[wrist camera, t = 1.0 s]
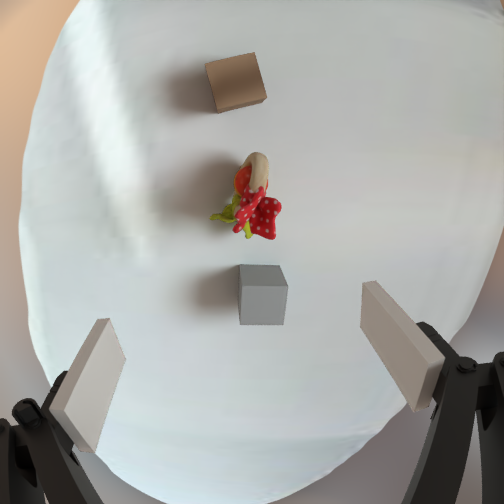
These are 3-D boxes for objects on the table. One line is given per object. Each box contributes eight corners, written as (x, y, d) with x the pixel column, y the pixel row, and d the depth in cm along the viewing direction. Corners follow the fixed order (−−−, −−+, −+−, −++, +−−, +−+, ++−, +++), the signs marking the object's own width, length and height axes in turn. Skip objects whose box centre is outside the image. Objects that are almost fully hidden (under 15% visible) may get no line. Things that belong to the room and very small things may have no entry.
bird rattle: (218, 164, 37) (206, 238, 36) (227, 124, 26) (209, 225, 25) (269, 173, 38) (259, 247, 37) (296, 139, 27) (284, 237, 26)
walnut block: (207, 73, 31) (204, 63, 27) (250, 63, 31) (254, 52, 27) (218, 113, 33) (217, 109, 28) (261, 103, 33) (267, 97, 28)
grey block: (239, 264, 40) (242, 285, 34) (279, 265, 40) (288, 286, 34) (237, 299, 41) (240, 324, 36) (275, 300, 42) (283, 325, 36)
